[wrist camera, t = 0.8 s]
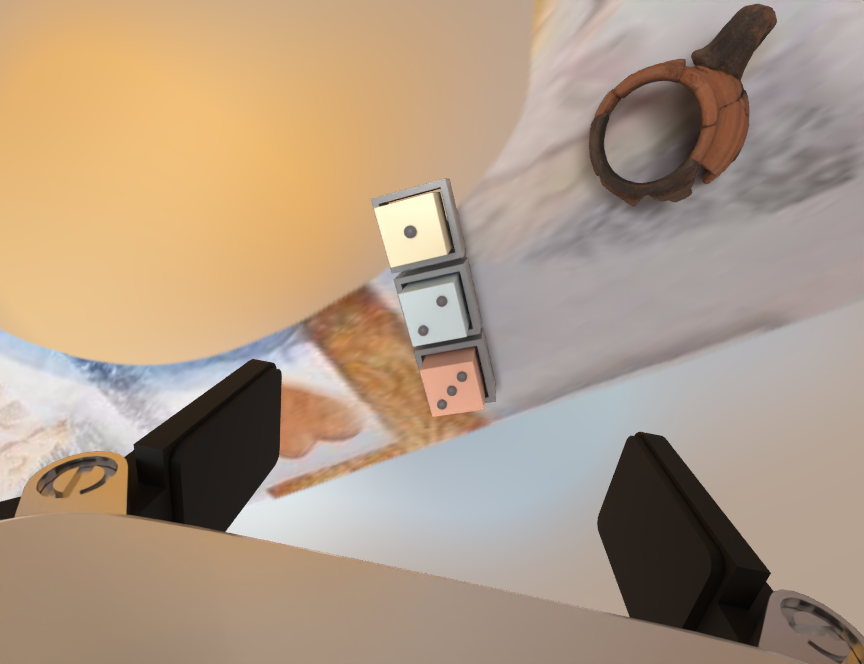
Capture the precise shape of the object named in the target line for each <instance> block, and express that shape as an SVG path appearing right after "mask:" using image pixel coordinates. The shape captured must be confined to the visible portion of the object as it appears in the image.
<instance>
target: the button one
mask: <svg viewBox="0 0 864 664" xmlns="http://www.w3.org/2000/svg"><path fill="white" fill-rule="evenodd" d="M374 210H375V214H376V217H377V221H378V225H379V228H380V232H381V235H382V239H383V242H384V246H385V249H386V253H387V256H388V260H389V263H390V267H391V268H392V267H396V266H400V265H405V264H409V263H413V262H417V261H422V260H426V259H430V258H434V257H439V256H443V255H447V254H448V253H449V252H450V250H451V249H452V248H453V245H452V241H451V237H450V233H449V228H448V224H447V220H446V215H445V211H444V207H443V202H442V198H441V194H440V192H432V193H429V194H425V195H422V196H418V197H414V198H410V199H407V200H403V201H399V202H396V203H392V204H388V205H384V206H381V207H377V208H374Z"/></svg>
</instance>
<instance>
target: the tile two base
mask: <svg viewBox="0 0 864 664" xmlns="http://www.w3.org/2000/svg"><path fill="white" fill-rule="evenodd" d="M458 271H460V274H461V279H462V283H463V287H464V292H465V296H466V300H467V305H468V309H469V313H470V318H471V319H470V323H469V328H468V333H467V336H470V335H475V334H480V332H481V323H482V322H481V317H480V313H479V308H478V304H477V299H476V295H475V290H474V286H473V282H472V277H471V273H470V268H469V264H468V259H467V258H463V259H458V260H454V261H450V262H445V263H441V264H437V265H432V266H428V267H423V268H419V269H415V270H410V271H406V272H402V273H400V274H399V275H398V276H397V277H396V278H395V279H394V283H395V287H396V290H397V294H399V293H400V292H401V291H402V290H403V289H404V288H405V287H406V285H407V284H408V283H410V282H413V281H417V280H422V279H426V278H431V277H435V276H440V275H444V274H449V273H453V272H458ZM398 297H399V295H398ZM399 301H400V299H399ZM400 304H401V302H400ZM401 308H402V306H401ZM402 311H403V310H402ZM403 315H404V313H403ZM404 318H405V317H404ZM405 322H406V320H405ZM406 326H407V324H406ZM407 329H408V327H407ZM408 333H409V331H408ZM409 336H410V334H409ZM410 340H411V338H410ZM411 343H412V341H411ZM412 346H413V345H412Z"/></svg>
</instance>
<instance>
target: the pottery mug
mask: <svg viewBox="0 0 864 664" xmlns="http://www.w3.org/2000/svg"><path fill="white" fill-rule="evenodd" d="M776 23H777V19H776V15H775V11H773V8H771V7H769V6H765V5H761V4H754V5H749V6H745V7H743V8H742V9H740V10H739V11H738V12H737V13H736V14H735V15H734V16H733V17H732V19H731V20H730V21H729V22H728V23H727V24H726V25H725V26H724V27H723V28H722V30H721V31H720V32H719V34H718V35H717V36H716V37H715V39H714V40H713V41H712V42H711V43H710V44H708V45H707V46H705V47H704V48H702V49H699V50H696V51H694V52H693V53H692V55H691V58H692V61H693V63H694V65H695V66H694V67H687V66H685V63H686V60H685V59H677V60H672V61H667V62H664V63H660V64H656V65H653V66H650V67H647V68H645V69H642V70H639V71H638V72H636V73H634V74H631V75H630V76H628V77H627V78H626V79H625V80H623V81H622V82H621V83H620V84H619V85H617V86H616V87H615V88H614V89H612V90H611V91H610V92H609V93H608V94H607V95H606V97H605V98H604V100H603V101H602V103H601V104H600V106H599V108H598V110H597V112H596V114H595V118H594V120H593V122H592V124H591V128H590V138H589V139H590V141H589V149H590V159H591V163H592V166H593V169H594V172H595V174H596V175H597V176H599V177H600V179H601V183H602V185H603V186H605V187H606V188H607V189H608V190H609V191H611V192H612V193H613V194H615V195H617V196H618V197H620V198H621V199H622V200H624V201H625V202H626V203H628V204H630V205H632V206H636V204H637V203H638V202H639V201H640V200H641V199H642V198H643V197H644V196H646V195H650V196H651V197H652V198H654V199H657V200H659V201H667V200H670V201H672V202H678V201H680V200H682V199H685V198H687V197H689V196H690V195H691V194H692V190H691V187H692V186H693V183H694V177H695V175H696V172H697V170H698V167H699V165H701V166H702V167H704V168H705V169H707V170H709V171H708V172H707V173H705V174H704V175H703V182H704V183H705V184H708V183H710V182H711V181H713V180H714V179H715V178H717V177H718V176H719V175H720V174H721V173H722V172H723V171H725V170H726V168H727V167H728V166H729V165H730V164H731V163H732V162H733V161H735V159H736V158H737V156H738V155H739V153H740V151H741V149H742V147H743V145H744V142H745V139H746V136H747V132H748V127H749V123H748V122H749V102H748V96H747V93H746V90H744V89H743V85H742V83H741V81H740V80H741V77H742V75H743V72H744V70H745V68H746V66H747V63H748V61H749V60H750V58H751V56H752V54H753V52H754V51H755V50H756V49H757V47H758V46H759V45H760V44H761V43H762V41H763V40H764V39H765V38H766V36H767V35H768V34H769V33H770V31H771V30H772V29H773V28H774V26H775V25H776ZM656 81H671V82H676V83H680V84H682V85H684V86H685V87H687V88H688V89H689V90H690V91H691V92H692V93H693V94H694V95H695V97H696V99H697V100H698V103H699V105H700V109H701V115H702V124H701V130H700V134H699V138H698V141H697V143H696V145H695V147H694V149H693V151H692V152H691V154H690V155H689V157H688V159H687V160H686V161H685V162H684V163H683V164H682V165H681V166H680V167H679V168H678V169H677V170H675V171H674V172H673V173H671V174H670V175H668V176H666V177H664V178H661V179H659V180H656V181H653V182H647V183H635V182H631V181H627V180H625V179H623V178H621V177H620V176H619V175H617V174H616V173H615V172H614V171H613V170H612V168H611V167H610V165H609V163H608V161H607V158H606V155H605V150H604V137H605V131H606V126H607V123H608V120H609V115H610V113H611V112H612V110H613V109H614V107H615V106H616V104H617V103H618V102H619V101H620V100H621V99H622V98H625V97H626V96H627V95H628V94H630V93H631V92H632V91H634V90H636V89H637V88H639V87H641V86H643V85H645V84H648V83H651V82H656Z"/></svg>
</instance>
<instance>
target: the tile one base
mask: <svg viewBox="0 0 864 664" xmlns="http://www.w3.org/2000/svg"><path fill="white" fill-rule="evenodd" d="M440 188H441V192H442V196H443V201H444V205H445V209H446V214H447V218H448V222H449V227H450V231H451V235H452V240H453V244H454V249H451V250H450V252H449V253H448V254H447V255H443V256H439V257H434V258H430V259H426V260H422V261H417V262H413V263H409V264H405V265H400V266H396V267H392V268H391V267H390V269H391V273H392V274H393V273H397V272H402V271H406V270H410V269H415V268H419V267H423V266H428V265H432V264H436V263H441V262H445V261H449V260H454V259H458V258H462V257H463V256H464V254H465V252H466V250H465V246H464V241H463V237H462V232H461V228H460V223H459V219H458V214H457V210H456V205H455V201H454V196H453V192H452V188H451V183H450V179H446V178H445V179H441V180H438V181H434V182H431V183H427V184H423V185H420V186H416V187H413V188H409V189H405V190H401V191H398V192H394V193H391V194H387V195H384V196H380V197H377V198H373V199H371V202H372V205H373V209H374V208H377V207H381V206H384V205H388V204H389V202H393V201H396V200H400V199H404V198H407V197H411V196H415V195H418V194H422V193H425V192H429V191H433V190H437V189H440ZM374 212H375V210H374ZM375 216H376V214H375ZM376 219H377V217H376ZM377 223H378V221H377ZM378 227H379V225H378ZM379 230H380V228H379ZM380 234H381V232H380ZM381 237H382V235H381ZM382 240H383V239H382ZM383 244H384V242H383ZM384 248H385V246H384ZM385 251H386V249H385ZM386 254H387V253H386ZM387 258H388V256H387ZM388 262H389V260H388ZM389 265H390V263H389Z"/></svg>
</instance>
